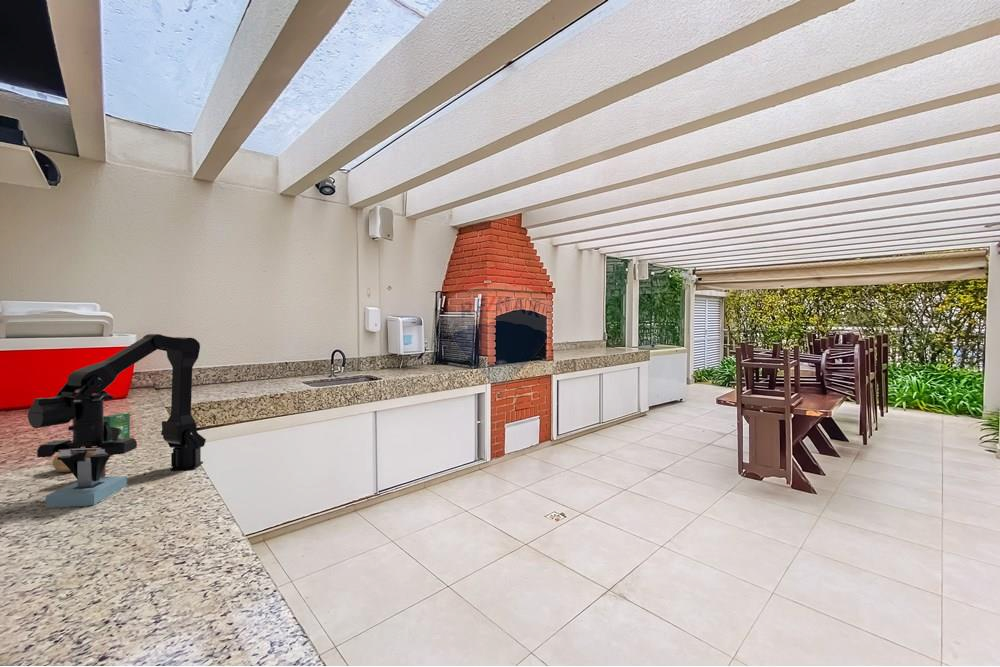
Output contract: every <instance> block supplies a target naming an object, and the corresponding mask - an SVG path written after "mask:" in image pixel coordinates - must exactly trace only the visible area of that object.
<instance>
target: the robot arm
mask: <svg viewBox="0 0 1000 667" xmlns="http://www.w3.org/2000/svg"><path fill="white" fill-rule="evenodd" d="M200 349H201V344H200V342H199V341H198V340H197V339H196V338H194V337H186V336H185V337H180V336H177V337H176V336H175V337H174V336H166V335H163V334H162V333H161V334H159V333H148V334H146V335H144V336H143V337H142V338H140V339H138V340H137V341H135V342H134V343H132V344H130V345H128V346H127V347H125V348H123V349H122V350H120V351H118V352H117V353H115V354H113V355H111V356H109V357H108V358H105V360H102V361H100V362H96V363H93V364H88V365H86V366H84V367H81V368H79V369H77V370H74V371H72V372H71V373H69V375H68V377H67V382H66V383H65V384H64V385H63V386H62V387H61V389H60V390H59V391H58V392H57V393H56V395H55V396H53V397H46V398H45V397H38V398H34V399H33V404H32V405H31V406H30V408H29V411H28V412H27V420H28V421H27V422H28V423H29V425H30V427H31V428H34V429H40V428H41V429H42V428H47V427H52V426H53V427H54V426H58V425H65V424H69V423H70V422H71V421H72V425H68V427H67V428H68V431H69V432H70V431H71V432H72V440H71V439H63V440H62V439H61V440H59V439H58V440H57V439H56V440H52V441H49V442H46V443H43V444H41V445H39V446H38V448H37V449H36V457H37V458H51V457H53V455H55V454H56V453H60V457H58V458H57V460H61V461H62V462H63V463H64V464H65V465H66V466H67V467H68V468H69V469H70V471H71V472H70V473H71V474H72V475H73V476H74V477H75V478H76V480H77V481H78V475H77V462H78V461H80V460H83V459H84V458H85V455H86V453H87V451H97V454H96V455H94V456H91V457H90V460H91V467H92V474H93V479H94V481H98V480H99V478H100V476H101V474H102V471H103V469H104V467H105V468H106V465H107V462H108V461H109V459H111V457H112V456H113V455H124V454H126V453H129V452H131V451H133V450H136V449H137V448H138V447H137V446H138V445H137V443H138V441H137V440H136V439H135V438H134V437H130V438H119V439H118V436H119V432H120V428H115V427H108V422H107V421H104V401H107V400H113V399H114V396H113V395H111V394H110V393H109V392H107V390H106V388H108V387H109V386H110V385H112V383H114V381H115V380H116V378H117V377H118V375H119V374H120V373H122V372H124V371H125V370H127V369H128V368H130V367H131V366H133V365H135V364H136V363H138V362H140V361H141V360H143V359H144V358H146V357H147V356H149V355H151V354H152V353H153V352H155V351H157V350H159V351H162V352H166V357H167V359H168V361H169V363H170V366H171V367H172V374H171V375H172V376H171V400H170V401H171V402H170V404H171V406H170V408H171V409H170V416H169V417H168V419H167V420H163V421H162V422H161V432H160V436H162V438H163V440H164V441H165V442H166V443H167V444H168V447H169V448H170V449H171V448H172V452H171V453H170V454H171V455H170V456H171V457H170V459H171V460H170V462H171V463H170V464H171V465H170V466H171V467H170V468H169V471H185V470H187V471H189V470H194V469H196V468H199V466H201V465H203V464H204V461H201V460H202V458H201V455H202V453H201V450H202V449H201V448H203V447H205V444H206V442H207V440H206V438H205V437H204V436H202V435H201V434H199V432H198V430H197V429H198V427H197V422H196V421H195V418H194V417H193V415H192V394H193V393H192V391H193V389H192V387H193V369H194V368H193V366H194V365H195V363H196V362H197V360H198V359H199V355H200ZM109 440H113V441H111V442H108V443H104V441H109ZM200 464H201V465H200Z"/></svg>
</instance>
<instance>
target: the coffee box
mask: <svg viewBox="0 0 1000 667" xmlns="http://www.w3.org/2000/svg"><path fill="white" fill-rule="evenodd" d="M103 416H104V415H103ZM104 421H107V422H108V427H115V428H120V432H119V436H118V439H119V438H131V434H130V433H131V428H130V427H131V412H120V413H115V414H110V415H105V416H104ZM111 441H113V440H109V441H104V443H108V442H111Z"/></svg>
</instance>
